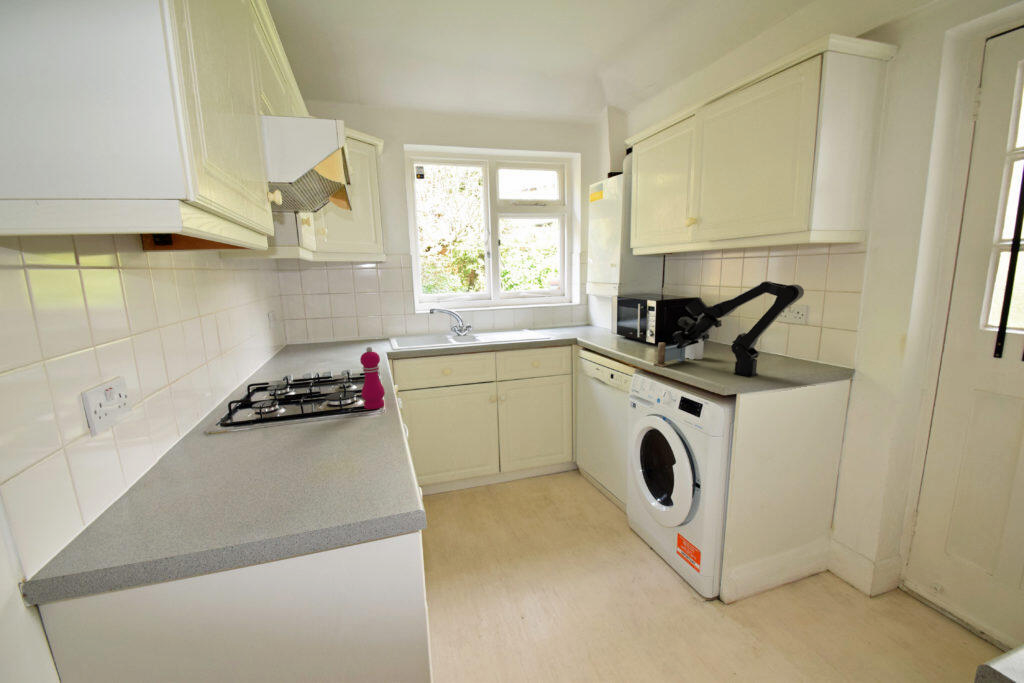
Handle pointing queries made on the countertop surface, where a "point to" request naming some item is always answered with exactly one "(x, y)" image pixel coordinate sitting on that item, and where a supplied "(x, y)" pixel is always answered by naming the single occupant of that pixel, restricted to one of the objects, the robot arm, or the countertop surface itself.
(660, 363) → the hinge post
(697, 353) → the jar
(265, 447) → the countertop surface
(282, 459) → the countertop surface
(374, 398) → the pepper mill
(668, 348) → the gate
